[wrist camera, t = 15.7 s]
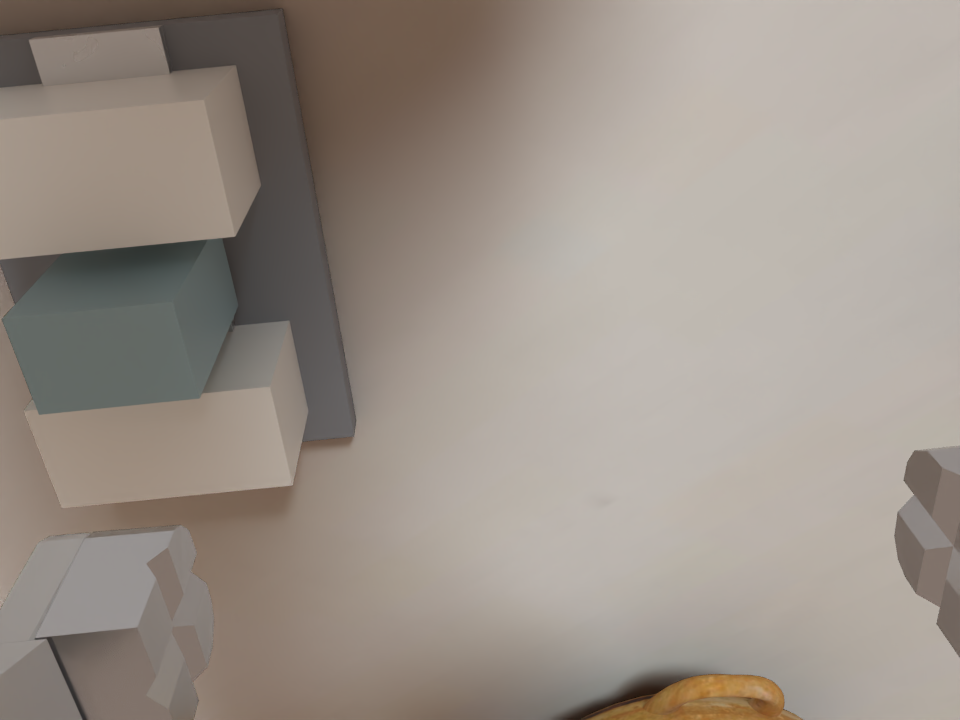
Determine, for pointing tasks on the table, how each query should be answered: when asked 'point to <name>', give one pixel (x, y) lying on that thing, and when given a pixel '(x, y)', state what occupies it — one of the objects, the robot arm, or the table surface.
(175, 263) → the block
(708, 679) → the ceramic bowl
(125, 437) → the board
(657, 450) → the table surface
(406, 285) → the table surface
